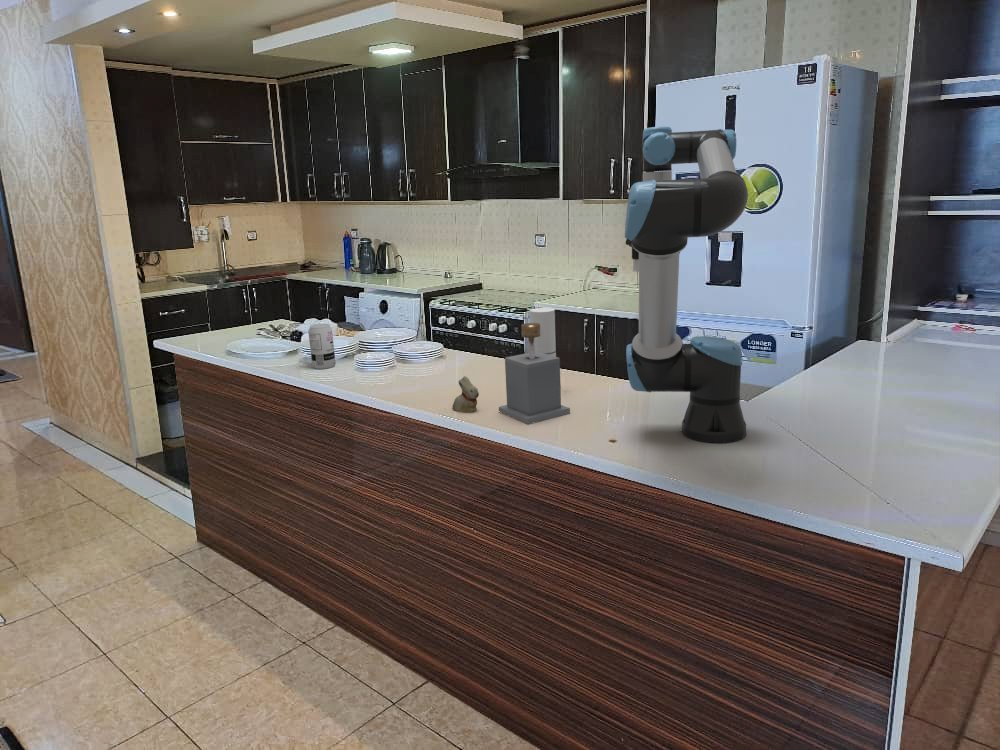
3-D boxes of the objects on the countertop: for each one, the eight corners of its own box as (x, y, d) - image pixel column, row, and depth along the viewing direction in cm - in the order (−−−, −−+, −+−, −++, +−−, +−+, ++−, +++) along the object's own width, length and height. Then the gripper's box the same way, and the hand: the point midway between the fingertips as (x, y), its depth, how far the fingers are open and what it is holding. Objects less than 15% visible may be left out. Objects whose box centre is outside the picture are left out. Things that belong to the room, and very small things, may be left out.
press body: (570, 413, 200) (568, 357, 196) (527, 424, 193) (525, 367, 189) (539, 402, 211) (537, 349, 207) (498, 411, 204) (496, 357, 200)
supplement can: (311, 365, 268) (307, 325, 264) (334, 363, 270) (330, 322, 266) (313, 370, 260) (308, 329, 257) (336, 367, 263) (332, 326, 259)
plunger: (554, 398, 200) (552, 324, 194) (529, 404, 195) (526, 329, 190) (536, 391, 206) (534, 320, 201) (512, 397, 202) (509, 324, 197)
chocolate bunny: (464, 415, 203) (462, 380, 200) (450, 408, 209) (448, 374, 207) (481, 411, 206) (479, 376, 203) (466, 404, 212) (464, 371, 210)
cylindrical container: (555, 395, 216) (552, 312, 210) (531, 395, 218) (528, 312, 211) (558, 389, 223) (556, 307, 217) (535, 388, 225) (532, 307, 218)
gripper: (679, 186, 204) (678, 263, 210) (611, 191, 191) (612, 272, 197) (700, 186, 198) (698, 265, 203) (631, 190, 185) (631, 274, 191)
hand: (656, 269), depth 200 cm, fingers open, 13 cm apart
